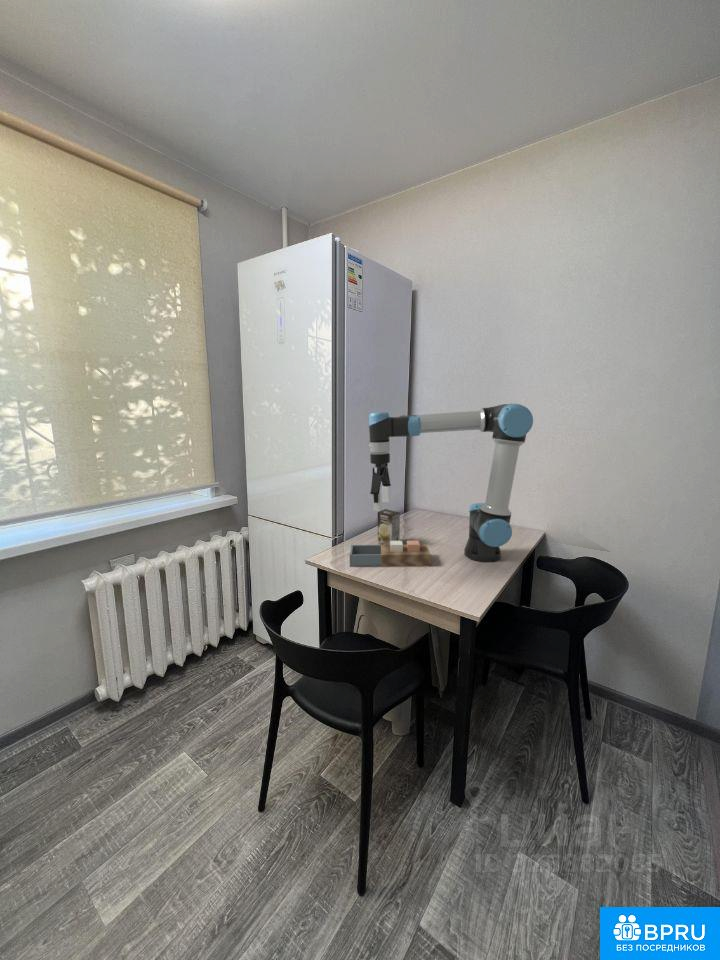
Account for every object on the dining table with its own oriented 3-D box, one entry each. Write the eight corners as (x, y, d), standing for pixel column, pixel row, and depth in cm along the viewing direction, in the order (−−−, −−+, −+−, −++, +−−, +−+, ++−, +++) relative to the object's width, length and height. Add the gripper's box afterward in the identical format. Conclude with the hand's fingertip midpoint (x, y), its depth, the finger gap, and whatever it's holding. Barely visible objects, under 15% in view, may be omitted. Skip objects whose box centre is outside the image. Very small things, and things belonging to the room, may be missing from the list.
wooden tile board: (426, 555, 169) (426, 544, 168) (430, 566, 157) (430, 554, 156) (380, 555, 170) (380, 544, 169) (381, 566, 158) (381, 555, 157)
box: (380, 555, 170) (380, 544, 169) (381, 566, 158) (381, 555, 157) (351, 555, 170) (351, 545, 169) (349, 566, 158) (349, 555, 157)
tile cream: (401, 547, 165) (401, 540, 164) (402, 551, 160) (402, 544, 159) (390, 547, 165) (390, 540, 165) (390, 551, 160) (390, 544, 160)
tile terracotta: (418, 547, 165) (418, 540, 164) (419, 551, 160) (419, 544, 159) (406, 547, 165) (406, 540, 164) (407, 551, 160) (407, 544, 159)
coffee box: (377, 544, 184) (376, 511, 181) (385, 540, 189) (385, 508, 186) (392, 548, 178) (391, 514, 175) (400, 544, 182) (400, 511, 179)
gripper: (378, 449, 161) (380, 498, 165) (360, 457, 138) (363, 514, 142) (396, 449, 159) (397, 499, 163) (381, 457, 136) (382, 515, 139)
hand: (381, 506), depth 152 cm, fingers open, 13 cm apart
